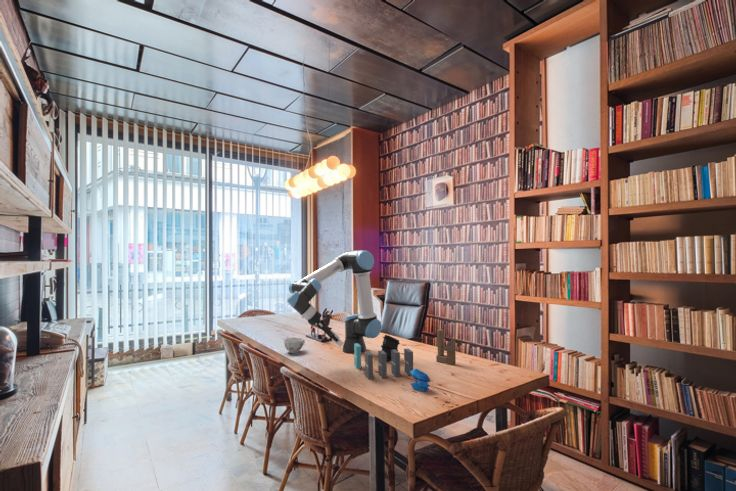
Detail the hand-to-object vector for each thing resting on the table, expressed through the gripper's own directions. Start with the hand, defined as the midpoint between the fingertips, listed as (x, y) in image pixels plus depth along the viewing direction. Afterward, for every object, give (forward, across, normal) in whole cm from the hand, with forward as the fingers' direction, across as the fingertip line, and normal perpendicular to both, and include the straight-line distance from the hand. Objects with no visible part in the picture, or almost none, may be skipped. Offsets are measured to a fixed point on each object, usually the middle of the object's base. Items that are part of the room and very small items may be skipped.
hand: (339, 342), depth 199 cm
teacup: (-6, -43, -26) cm, 50 cm away
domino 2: (+23, +18, +3) cm, 30 cm away
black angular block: (+32, -8, +12) cm, 35 cm away
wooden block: (+52, +5, +32) cm, 61 cm away
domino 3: (+28, +18, +8) cm, 34 cm away
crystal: (+31, +41, +11) cm, 53 cm away
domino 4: (+33, +18, +13) cm, 40 cm away
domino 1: (+18, +18, -2) cm, 26 cm away
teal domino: (+17, 0, -3) cm, 17 cm away
